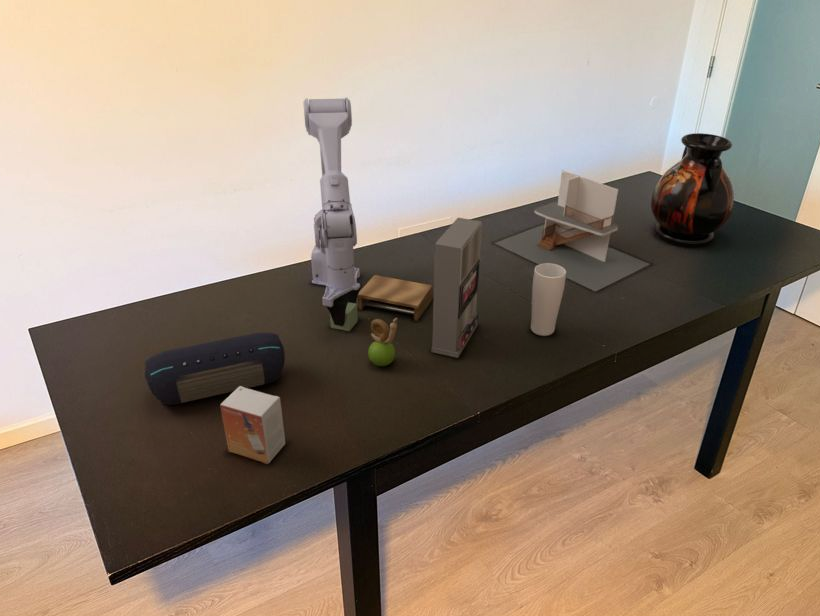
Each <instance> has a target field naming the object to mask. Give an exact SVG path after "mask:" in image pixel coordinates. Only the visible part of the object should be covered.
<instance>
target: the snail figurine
mask: <svg viewBox="0 0 820 616" xmlns="http://www.w3.org/2000/svg"><path fill="white" fill-rule="evenodd" d="M397 322H398V317H395V318H394V319H392V322H390V324H389V325H388V324H387V322H386V321H384V320H383V319H380V318H375V319H373V320H372V321H371V323H370V330H371V333H370V335H371V336H370V337H372V339H373V340H374V341H373V342H372V343H371V344H370V345H369V347H368V349H367V350H368V351H367V352H368V353H367V355H368V359H369V360H370V362H371V363H372V364H374V365H375V366H378V367H386V366H388V365H390V364H392V362H394V360H395V357H396V349H395V346H394V344H393V343H392V342H393V341H394V339H395V336H396V333H397V332H396V331H397V329H398V325H397Z"/></svg>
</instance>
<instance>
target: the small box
mask: <svg viewBox="0 0 820 616" xmlns="http://www.w3.org/2000/svg"><path fill="white" fill-rule="evenodd" d="M281 402H282V401H281V397H280V396H278V395H272V394H269V393H265V392H262V391H259V390H254V389H251V388H245V387H242V386H239V387H238V388H237V389H236V390H235V391H232V392H231V393H230V394H229V396H228V397H226V398H225V399H224V400H223V401H222V402H221V403H220V404H219V406H220V411H221V417H222V422H223V428H224V434H225V438H226V444H227V449H228V452H229V453H232V454H235V455H236V454H237V455H239V456H242V457H246V458H248V459H251V460H254V461H257V462H261V463H263V464H265V465H269V464H270V463H271V461H272V460H273V459H274V458H275V457H276V456H277V454H278V453H279V452H280V451H281V450H282V449H283V447H284V446H285V445H286V436H285V429H284V420H283V410H282V404H281Z"/></svg>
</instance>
